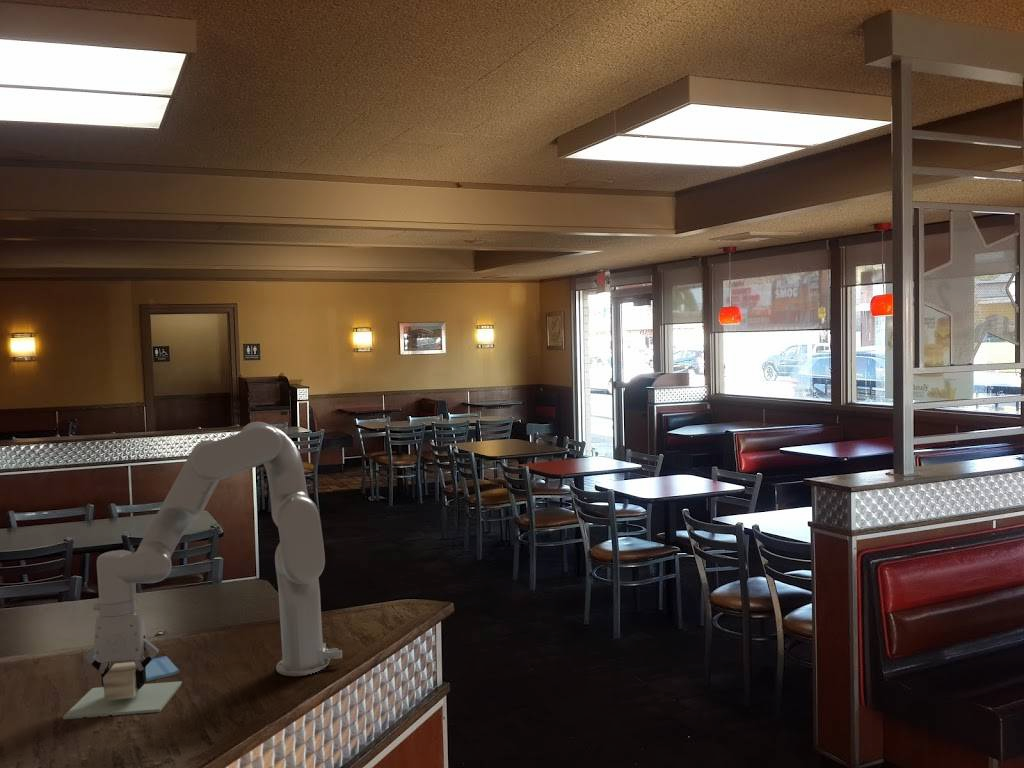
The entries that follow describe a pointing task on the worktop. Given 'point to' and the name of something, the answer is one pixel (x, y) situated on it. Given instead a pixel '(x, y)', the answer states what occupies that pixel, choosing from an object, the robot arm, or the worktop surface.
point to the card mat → (124, 701)
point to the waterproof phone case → (160, 668)
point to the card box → (120, 681)
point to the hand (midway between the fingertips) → (124, 687)
